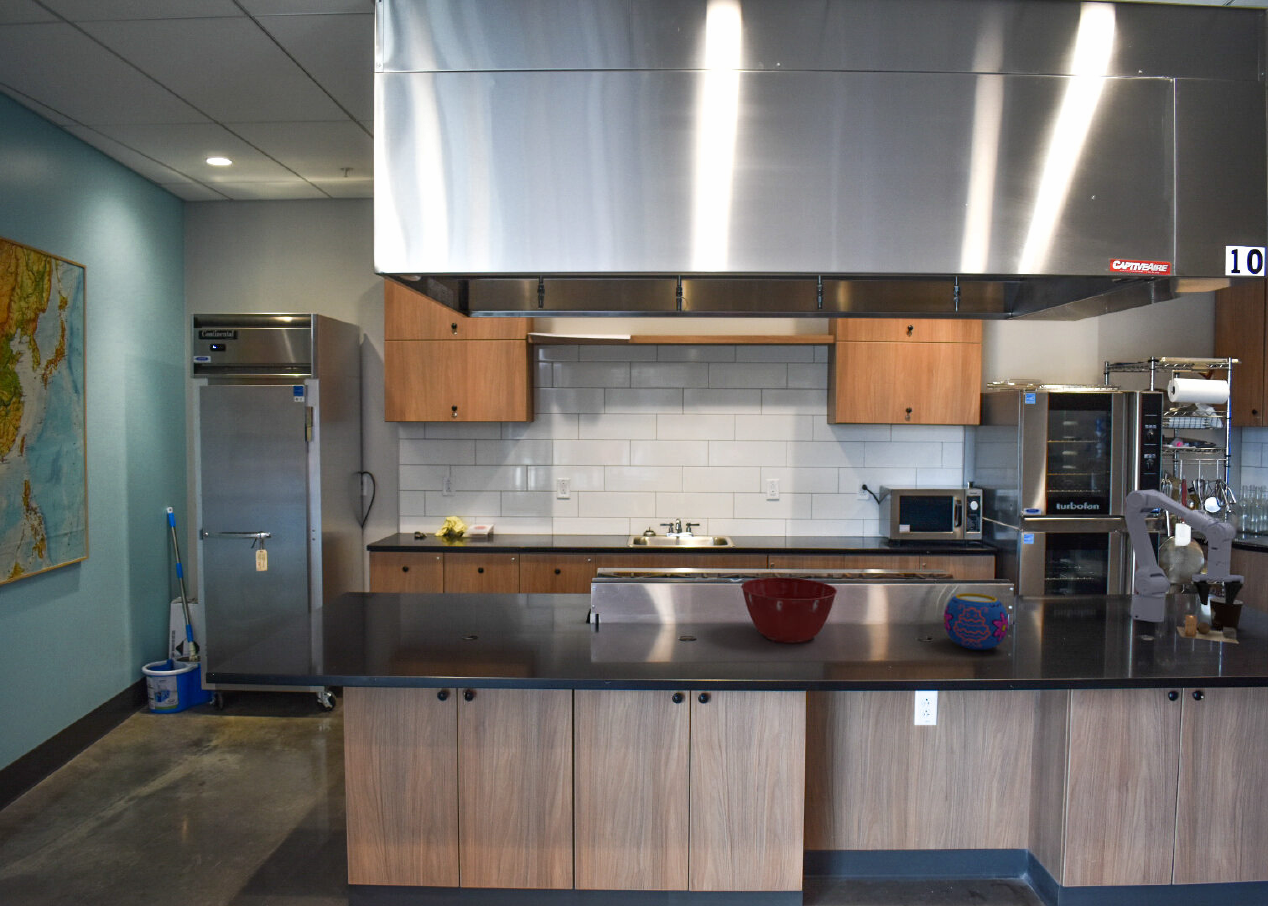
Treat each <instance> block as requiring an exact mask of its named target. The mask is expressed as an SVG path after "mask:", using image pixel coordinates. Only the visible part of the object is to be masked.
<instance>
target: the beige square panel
mask: <svg viewBox="0 0 1268 906" xmlns="http://www.w3.org/2000/svg"><path fill="white" fill-rule="evenodd" d="M1176 629H1177V632H1178V633H1179V635H1180V637H1181V638H1189V639H1198V640H1205V641H1206V640H1207V641H1213V642H1214V641H1215V642H1223V643H1232V644H1240V643H1239V641H1238V640H1237V631H1238V630H1237V631H1236V630H1235V629H1234V628H1230V627H1223V630H1222V631H1220V630H1210V631H1209V632H1208V633H1206V634H1202V633H1199V632H1198V631H1197V633H1196V636H1195V637H1192V636H1187V635H1185V626H1184V627H1182V626H1176Z"/></svg>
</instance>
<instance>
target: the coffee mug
mask: <svg viewBox="0 0 1268 906" xmlns="http://www.w3.org/2000/svg"><path fill="white" fill-rule="evenodd" d="M1208 601H1209V610H1210V619H1211V622H1210V623H1211V628H1212V629H1214V630H1217V631H1223V627H1230V628H1234V629H1235V630H1236V631H1238V627H1239V624H1240V623H1239V622H1240V619H1241V613H1242V609H1243V601H1241V600H1238V599H1235V600H1234V603H1233V605H1232V606H1229V605H1226V602H1225V597H1210V598H1208Z"/></svg>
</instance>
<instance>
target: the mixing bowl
mask: <svg viewBox="0 0 1268 906" xmlns="http://www.w3.org/2000/svg"><path fill="white" fill-rule="evenodd" d="M740 588H741V590H742V593H743V598H744V602H745V604H746V605H745V606H746V608H747V611H748V615H749V616H750V619H751V620H752V623H753V625H754V627H755V628H756V629H757V631H758V632H759V633H760V634H761V635H763V636H764V637H765V638H766V639H768V640H771V641H773V642H777V643H783V644H801V643H805V642H808V641H810V640H811V639H813V638H814V637H816V636H817V635H818V634H819V633H820V632H821V630H822V629H823V627H824V625H825V623H826V621H827V619H828V617H829V615H830V613H831V610H832V608H833V605H834V600H835V596H836V594H837V593H838V590H837V589H836V587H834V586H832V585H830V584H828V583H825V582H821V581H816V580H811V579H805V578H796V577H762V578H756V579H750V580H747V581H745V582H743V583H741V585H740Z"/></svg>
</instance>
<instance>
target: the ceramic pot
mask: <svg viewBox="0 0 1268 906" xmlns="http://www.w3.org/2000/svg"><path fill="white" fill-rule="evenodd" d="M1009 624H1010V623H1009V618H1008V614H1007V610H1006V608H1005V606H1004V605H1003V604H1002V602H1001V601H1000V600H999V599H998V598H997V597H995V596H992V595H986V594H982V593H973V592H972V593H971V592H964V593H958V594H955V595H954V596H952V598H950V600H949V601H948V603H947V604H946V607H945V609H944V613H943V625H944V629H945V631H946V634H947V635H948V637H949V638H950V639H951V641H953V642H955V643H956V644H957V645H959V646H960V647H964V648H966V649H969V650H974V651H983V650H989V649H993V648H995V647H997V646H998V645H1000V644H1001V643H1002V642H1003V640H1004V639H1005V638H1006V635H1007V633H1008V631H1009Z"/></svg>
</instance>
